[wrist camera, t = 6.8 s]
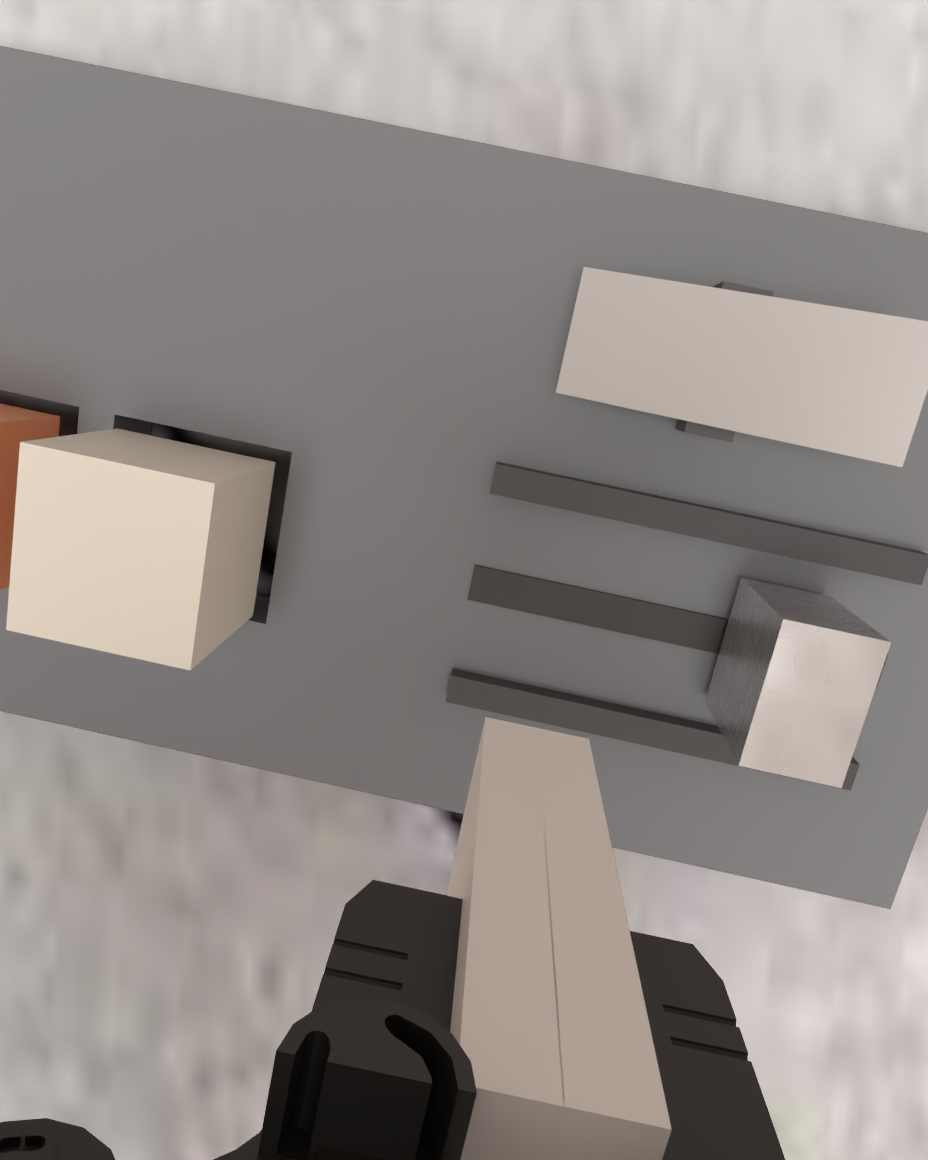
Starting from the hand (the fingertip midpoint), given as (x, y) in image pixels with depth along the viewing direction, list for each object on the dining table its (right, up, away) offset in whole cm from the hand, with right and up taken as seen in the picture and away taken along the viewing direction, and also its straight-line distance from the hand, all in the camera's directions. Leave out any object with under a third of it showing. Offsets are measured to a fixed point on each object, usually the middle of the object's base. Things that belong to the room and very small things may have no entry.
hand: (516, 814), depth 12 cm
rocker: (+5, +8, +8) cm, 13 cm away
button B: (-8, +5, +11) cm, 15 cm away
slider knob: (+7, +2, +11) cm, 13 cm away
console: (-2, +6, +14) cm, 15 cm away
